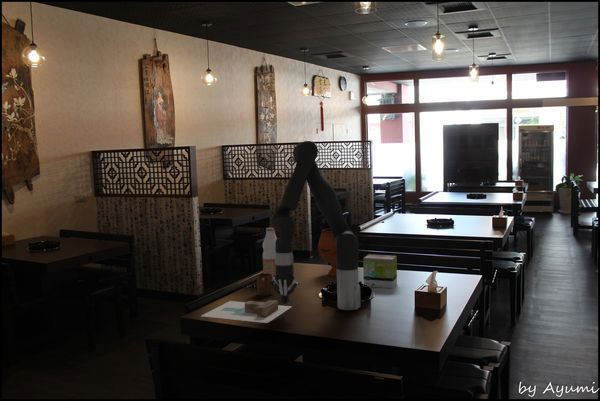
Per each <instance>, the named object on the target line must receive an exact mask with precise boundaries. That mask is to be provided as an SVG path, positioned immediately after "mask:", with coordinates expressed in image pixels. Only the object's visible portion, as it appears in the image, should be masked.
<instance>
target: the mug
mask: <svg viewBox="0 0 600 401" xmlns="http://www.w3.org/2000/svg"><path fill="white" fill-rule="evenodd" d="M272 280H273V277H272V274H264V273H260V274H257V276H256V284H257V286H256V287H257V288H256V289H257V295H258V296H260V297H268V296H272V295H274V288H273V286H272V285H271V283H270V282H271V281H272Z"/></svg>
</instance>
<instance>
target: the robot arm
mask: <svg viewBox="0 0 600 401" xmlns="http://www.w3.org/2000/svg"><path fill="white" fill-rule="evenodd" d="M318 155H319V148H318V146H317V144H316V143H315V142H313V141H312V140H304V141H301V142H300V143H297V144H296V145H295V146H294V147H293V150H292V156H293V159H294V162H295V167H294V170H293V173H292V175H291V177H290V178H289V181H288V183H287V185H286V187H285V189H284V193H283V195H282V199H281V202H280V204H279V206H278V207H277V209H276V211H275V212H274V214H273V216H272V220H271V225H272V227H271V228H274V230H275V232H276V231H277V232H280V233H279V237H277V239H276V242H275V250H276V254H275V273H276V276H275V279H274V280H272V281H271V282H270V283H271V285H272V286H273V290H274V291H275V292H276V293H277V294H280V298H281V300H280V301H281V303H282V305H287V304H288V303H289V301H290V295H292V294H293V293H294V291H296V289H297V287H298V286H300V282H299V281H296V279H295V276H294V255H293V240H294V236H295V231H296V223H295V220H294V218H293V217H292V216H291V213H292V212H295V211H296V210H297V208H298V206H299V203H300V200H301V197H302V192H303V189H304V186H305V183H307V186H308V188H309V190H310V192H311V195H312V196H313V199H314V201H315V204H316V206H317V207H318V210H319V211H320V213H321V215H322V216H323V219H325V222H326V223H327V225H328V226H329V228H330V229H331V232H332V235H333V237H334V241H335V244H336V247H337V263H336V268H337V276H336V291H337V292H336V293H337V294H336V295H337V309H338V310H342V311H354V310H355V311H357V310H358V309H359V308H361V307H362V306H361V286H360V285H361V284H359V240H358V238H357V236H356V235H355V234H354V233H353V232H352V230H351V229H350V227H349V225H348V223H347V222H346V219H345V217H344V214H343V211H342V207H341V203H340V201H339V198H338V196H337V194H336V192H335V189H334V187H333V186H332V185H331V183H330V182H329V180H328V179H327V177H326V176H324V174H323V173H322V172H321V170H320V169H319V168H320V167H318V164H317V162H316V161H317V160H316V159H317V157H318Z"/></svg>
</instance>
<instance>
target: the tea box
mask: <svg viewBox="0 0 600 401" xmlns="http://www.w3.org/2000/svg"><path fill="white" fill-rule="evenodd" d="M397 261H398V259H397V255H390V254H389V255H386V254H383V255H382V254H367V255H366V256H364V257H363V258H362V263H363V264H362V269H363V270H362V271H363V272H362V273H363V285H364V284H365V285H367V286H366V287H370V288H371V287H373V288H384V289H394V287H396V286H397V284H398V283H397V282H398V270H397V269H398V266H397V265H398V262H397Z"/></svg>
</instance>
